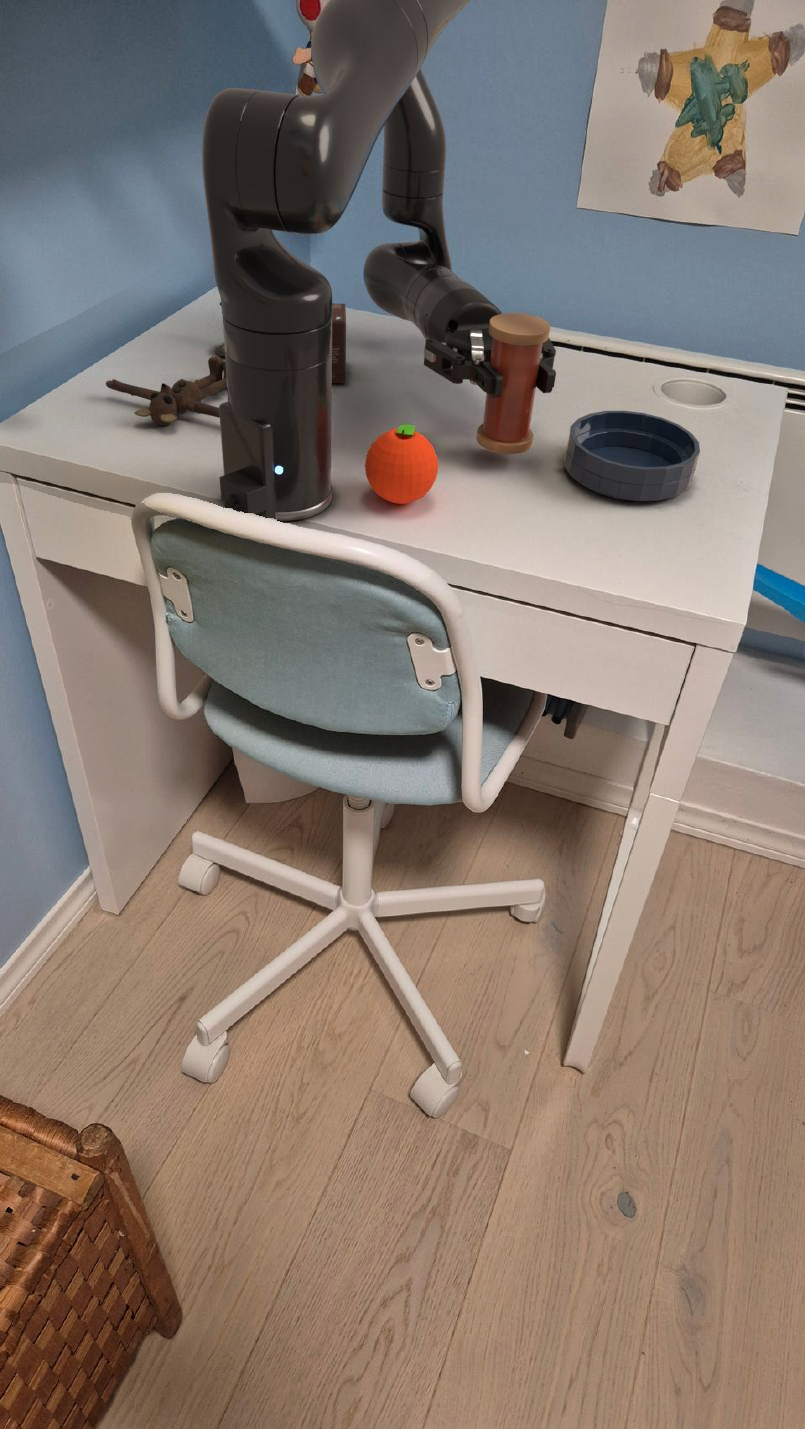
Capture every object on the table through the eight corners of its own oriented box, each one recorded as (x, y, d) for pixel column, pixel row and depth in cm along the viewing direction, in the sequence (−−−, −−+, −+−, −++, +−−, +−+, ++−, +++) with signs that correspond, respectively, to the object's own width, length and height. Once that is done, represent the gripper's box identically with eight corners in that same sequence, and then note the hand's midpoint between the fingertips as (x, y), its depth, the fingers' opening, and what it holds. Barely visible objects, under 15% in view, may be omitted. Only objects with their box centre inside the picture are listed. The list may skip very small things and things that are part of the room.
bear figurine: (295, 372, 108) (224, 409, 97) (294, 410, 111) (224, 450, 100) (158, 339, 113) (76, 370, 102) (160, 377, 116) (80, 411, 105)
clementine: (376, 472, 99) (378, 405, 94) (443, 483, 98) (449, 415, 93) (355, 510, 93) (357, 440, 88) (427, 522, 92) (433, 452, 87)
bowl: (641, 520, 94) (651, 482, 92) (538, 469, 101) (543, 433, 98) (714, 479, 101) (724, 443, 99) (612, 434, 108) (620, 400, 105)
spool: (506, 459, 98) (523, 339, 90) (464, 439, 101) (477, 321, 93) (543, 443, 101) (562, 326, 93) (501, 424, 104) (516, 308, 96)
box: (345, 365, 119) (346, 303, 114) (345, 385, 114) (346, 322, 109) (295, 363, 118) (294, 300, 113) (292, 383, 114) (291, 319, 109)
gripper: (398, 291, 102) (460, 353, 90) (523, 283, 106) (597, 342, 94) (395, 362, 107) (452, 429, 95) (514, 352, 111) (583, 416, 99)
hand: (524, 385), depth 95 cm, fingers closed on spool, 4 cm apart
